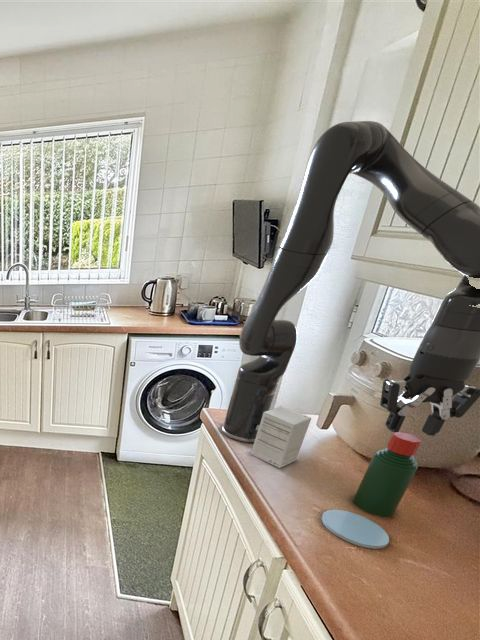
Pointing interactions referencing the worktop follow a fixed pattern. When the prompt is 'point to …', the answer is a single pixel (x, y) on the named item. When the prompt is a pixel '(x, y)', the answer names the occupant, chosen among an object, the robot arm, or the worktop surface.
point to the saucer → (355, 529)
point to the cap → (404, 443)
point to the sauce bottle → (385, 482)
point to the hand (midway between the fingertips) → (409, 431)
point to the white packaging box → (280, 436)
